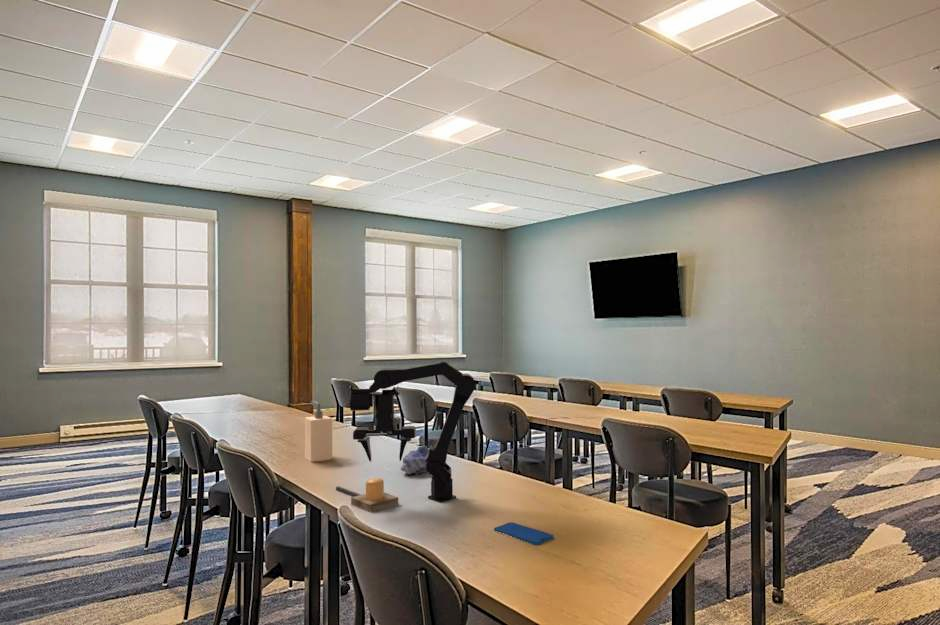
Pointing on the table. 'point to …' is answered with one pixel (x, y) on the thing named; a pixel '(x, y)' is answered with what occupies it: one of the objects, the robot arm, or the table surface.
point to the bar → (347, 491)
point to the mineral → (415, 461)
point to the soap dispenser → (318, 436)
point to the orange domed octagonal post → (374, 489)
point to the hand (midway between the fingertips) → (385, 460)
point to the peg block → (374, 502)
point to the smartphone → (524, 533)
